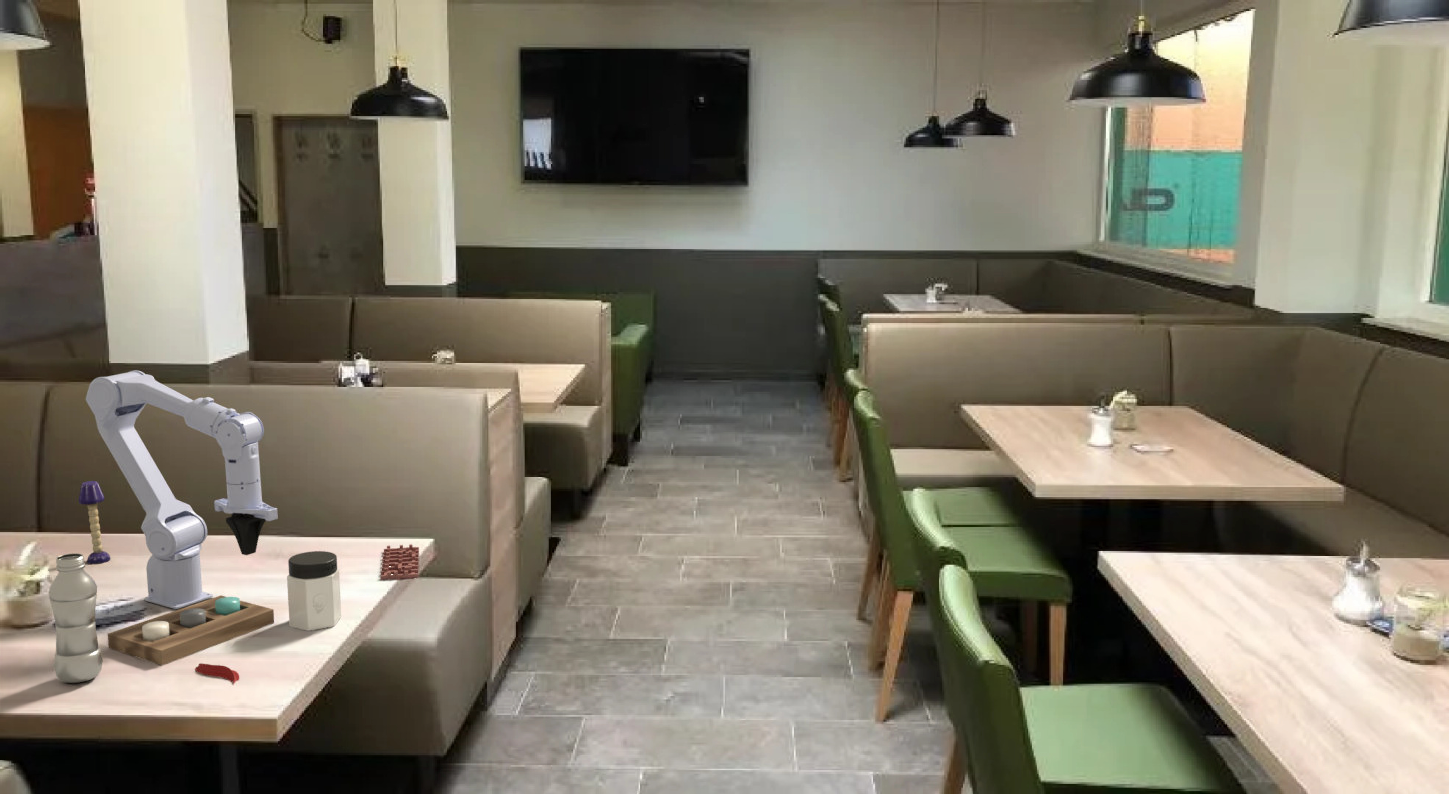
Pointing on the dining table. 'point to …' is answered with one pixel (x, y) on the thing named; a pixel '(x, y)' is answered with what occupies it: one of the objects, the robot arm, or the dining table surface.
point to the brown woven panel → (400, 563)
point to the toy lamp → (93, 519)
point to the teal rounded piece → (227, 605)
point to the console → (190, 632)
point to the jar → (313, 590)
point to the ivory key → (155, 630)
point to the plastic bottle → (75, 621)
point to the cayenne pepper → (218, 672)
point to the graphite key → (192, 618)
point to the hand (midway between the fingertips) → (248, 553)
